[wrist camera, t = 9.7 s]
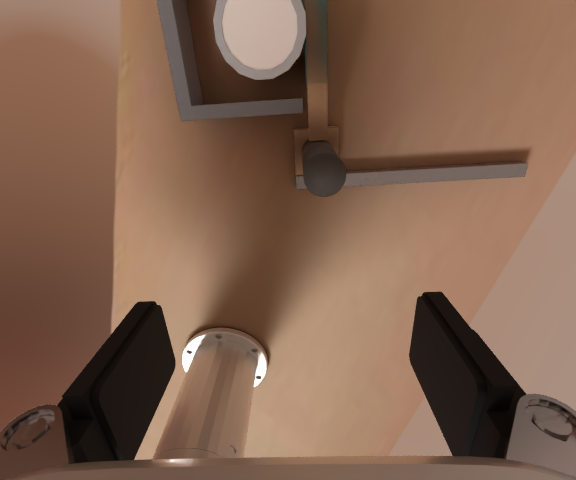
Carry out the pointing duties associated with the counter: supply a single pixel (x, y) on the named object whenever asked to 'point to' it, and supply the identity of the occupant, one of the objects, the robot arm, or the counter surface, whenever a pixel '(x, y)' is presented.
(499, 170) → the rail
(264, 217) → the counter surface
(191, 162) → the counter surface
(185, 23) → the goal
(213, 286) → the counter surface
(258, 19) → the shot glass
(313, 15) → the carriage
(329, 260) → the counter surface
